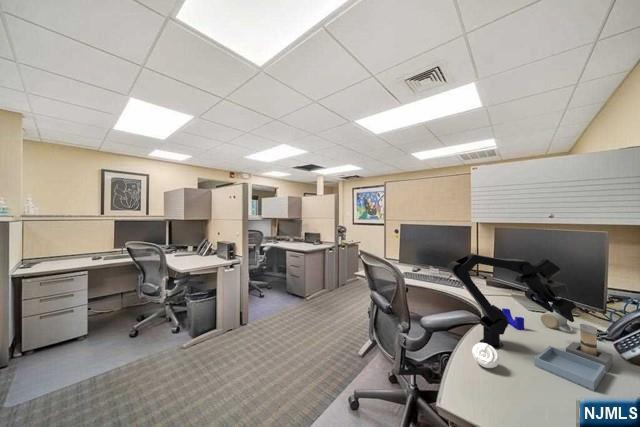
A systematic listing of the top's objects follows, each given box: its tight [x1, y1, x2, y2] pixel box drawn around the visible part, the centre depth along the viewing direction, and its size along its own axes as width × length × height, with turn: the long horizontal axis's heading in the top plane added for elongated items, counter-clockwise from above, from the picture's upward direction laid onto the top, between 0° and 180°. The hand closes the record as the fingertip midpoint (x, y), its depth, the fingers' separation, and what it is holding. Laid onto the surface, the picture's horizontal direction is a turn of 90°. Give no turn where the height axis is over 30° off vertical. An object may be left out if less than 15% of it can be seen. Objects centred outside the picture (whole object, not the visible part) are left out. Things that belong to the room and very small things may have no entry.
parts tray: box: [534, 345, 607, 392], centre depth 80 cm, size 16×14×3 cm
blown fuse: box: [579, 323, 598, 357], centre depth 86 cm, size 4×4×13 cm
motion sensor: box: [471, 342, 500, 369], centre depth 82 cm, size 8×8×8 cm
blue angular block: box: [501, 307, 525, 331], centre depth 115 cm, size 12×4×6 cm, turn 169°
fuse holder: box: [565, 341, 614, 373], centre depth 86 cm, size 10×10×4 cm
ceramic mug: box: [540, 310, 574, 334], centre depth 111 cm, size 11×8×8 cm
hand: (562, 316), depth 93 cm, fingers open, 9 cm apart
